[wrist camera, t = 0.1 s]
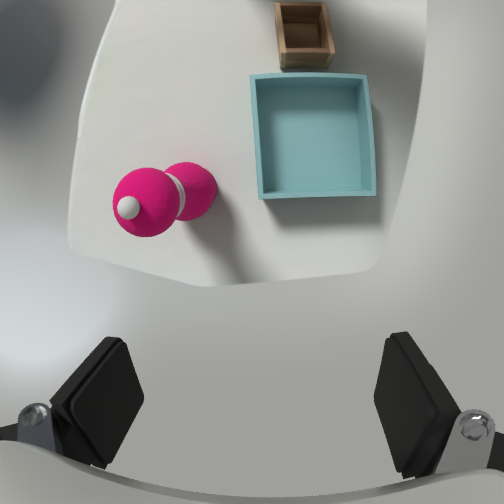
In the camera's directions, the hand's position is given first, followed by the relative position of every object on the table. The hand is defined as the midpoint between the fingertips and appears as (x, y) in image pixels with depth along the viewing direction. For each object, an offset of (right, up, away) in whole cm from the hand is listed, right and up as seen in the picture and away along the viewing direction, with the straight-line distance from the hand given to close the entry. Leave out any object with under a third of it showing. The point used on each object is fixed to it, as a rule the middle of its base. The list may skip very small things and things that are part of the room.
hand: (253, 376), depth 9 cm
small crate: (+7, +33, +23) cm, 40 cm away
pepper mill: (-8, +13, +30) cm, 33 cm away
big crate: (+8, +19, +26) cm, 34 cm away
